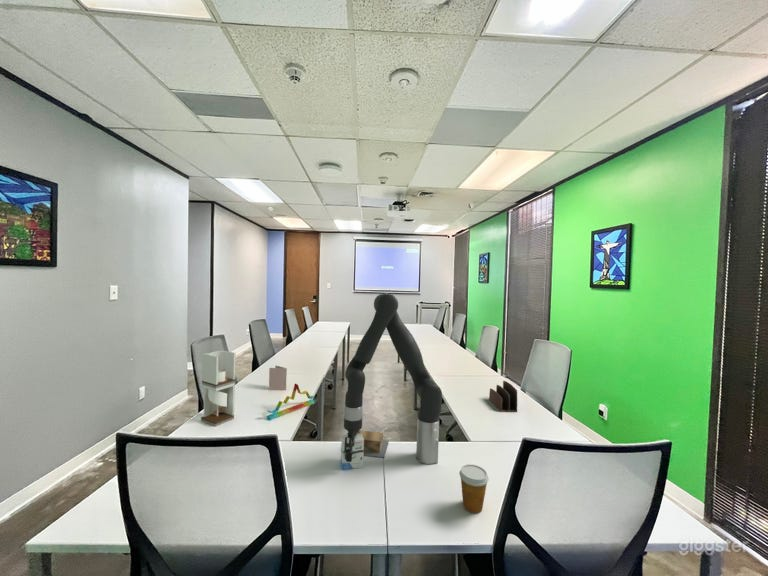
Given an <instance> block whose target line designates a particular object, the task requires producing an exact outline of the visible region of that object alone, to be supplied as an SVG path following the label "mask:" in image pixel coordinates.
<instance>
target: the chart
mask: <svg viewBox="0 0 768 576" xmlns="http://www.w3.org/2000/svg"><path fill="white" fill-rule="evenodd" d="M297 393H298V394H300V395H306V397H307V399H309V400H306V401H304V402H301V403H299V404H295V405H293V406H289V407H287V408H284V409H282V410H280V408H281V406H282V404H288V402H289V400H292V401H294V400H295V396H296V394H297ZM314 398H315V396H314V395H310V393H309V392H308V391H307V390H303V391H302V392H301V389H300V387H299V384H298V383H294V385H293V389H292V393H291V396H289V395H287V396H286V397H285V399H284V401H281V400H279V401H278V403H277V404H276V407H275V409H273V410H271V411H270V410H267V412H268V413H270V414H268V415H266V419H267V420H268V421H272V420H276V419H277V418H280V417H283V416H285V415H287V414H290V413H294V412H297V411H298V410H301V409H304V408H306V407H309V406H311V405H314V404H315V400H314Z"/></svg>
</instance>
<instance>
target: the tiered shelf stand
mask: <svg viewBox="0 0 768 576" xmlns="http://www.w3.org/2000/svg"><path fill="white" fill-rule="evenodd" d="M236 355H237V354H236V352H231V351H227V350H224V349H223V350H216V351H212V352H205V353H202V363H201V364H202V367H201V368H202V369H201V370H202V373H201V377H202V378H201V388H203V416H201V417H200V421H201V422H202V423H204V424H207V425H210V426H213V427H217V426H220V425H222V424H225V423H227V422H230V421H232V420H235V399H236V398H235V395H236V393H235V392H236Z"/></svg>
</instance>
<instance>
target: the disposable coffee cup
mask: <svg viewBox="0 0 768 576" xmlns="http://www.w3.org/2000/svg"><path fill="white" fill-rule="evenodd" d="M458 475H459V477H460V482H461V483H460V484H461V494H462V495H461V497H462V506H463V508H464V509H465V510H466V511H467V512H469V513H471V514H479V513H481V512H482V511H483V508H484V501H485V495H486V490H487V484H488V482H489V479H490V477H489V475H488V473H487V470H486V469H485V468H483V467H481V466H479V465H477V464H471V463H469V464H467V463H466V464H464V465H462V466H461V469H460V470H459V473H458Z"/></svg>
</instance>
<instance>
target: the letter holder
mask: <svg viewBox="0 0 768 576" xmlns="http://www.w3.org/2000/svg"><path fill="white" fill-rule="evenodd" d="M495 388H496V390H494V389H493V388H489V392H488V393H489V397H488V399H489V401H490V402H491V403H492V404H493V405H494V406H495V407H496V408H497V409H498V410H499V412H501V413H518V390H517V388H515V387H514V386H513V385H512V384H511V383H509V382H508V381H506V380H503V381H502V386H501V385H499V384H496V387H495Z"/></svg>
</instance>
